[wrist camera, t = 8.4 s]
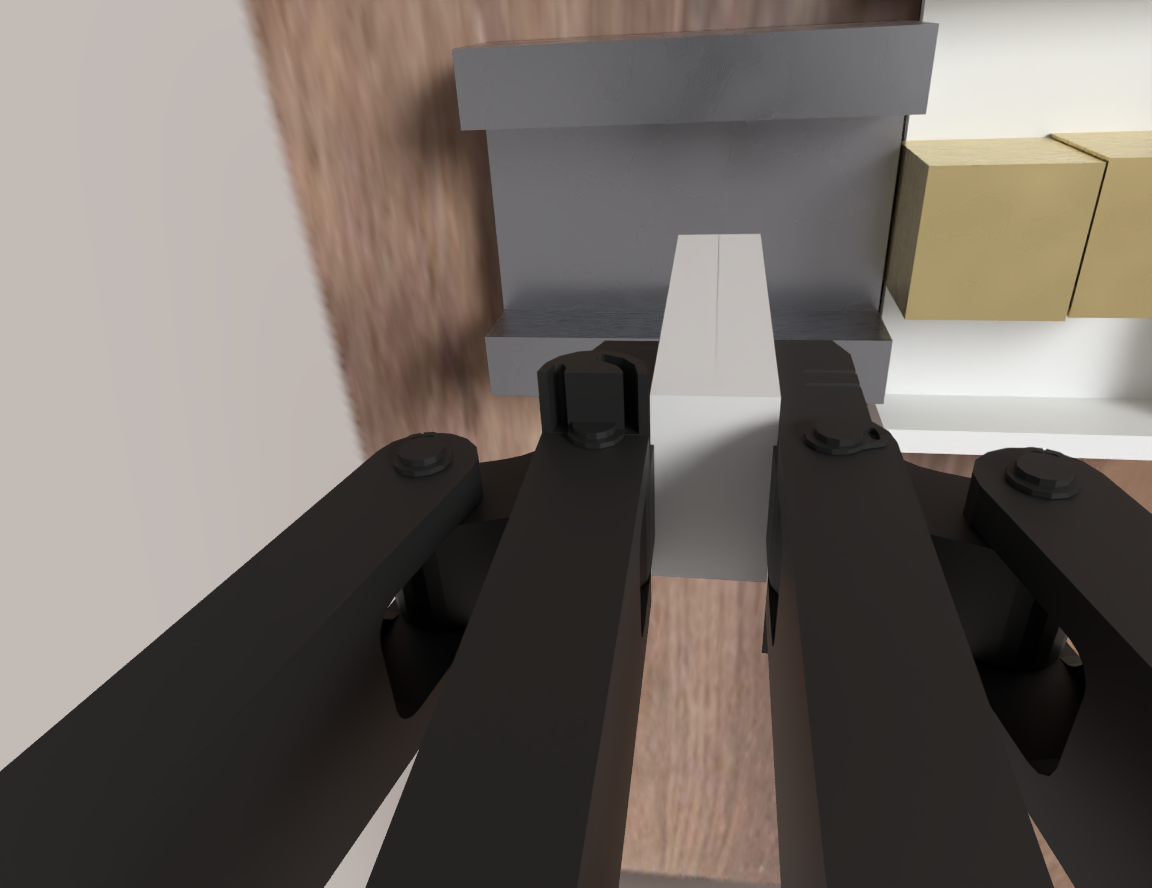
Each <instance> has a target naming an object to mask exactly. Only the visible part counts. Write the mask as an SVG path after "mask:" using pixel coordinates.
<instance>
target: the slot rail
mask: <svg viewBox="0 0 1152 888" xmlns="http://www.w3.org/2000/svg"><path fill="white" fill-rule="evenodd" d="M938 28H939V23H931V22H923V21H915V20H893V21H874V22H856V23H837V24H818V25H800V26H781V27H763V28H744V29H725V30H707V31H688V32H670V33H651V34H632V35H614V36H595V37H576V38H558V39H539V40H521V41H502V42H487V43H481V44H476V45H471V46H466V47H461V48H455V49H452V55H453V64H454V73H455V81H456V90H457V99H458V108H459V116H460V125H461V131H465V130H486V135H487V145H488V155H489V165H490V175H491V185H492V195H493V205H494V215H495V225H496V235H497V245H498V255H499V265H500V275H501V285H502V295H503V304H504V311H503V312H502V313H501V315H500V316H499V318H498V319H497V320H496V322H495V323H494V325H493V326H492V328H491V329H490V330H489V332H488V333H487V335H486V336H485V343H486V352H487V361H488V369H489V378H490V387H491V396H536V397H539V391H538V380H537V371H538V370H539V369H540V368H541V367H542V366H543V365H544V364H545V363H546V362H548V361H550V360H552V359H554V358H556V357H558V356H561V355H565V354H570V353H574V352H578V351H591V350H593V349H594V348H596V347H597V346H598V345H600V344H601V343H602V342H604V341H605V340H611V341H660V336H661V330H662V324H663V319H664V313H665V308H666V302H667V296H668V291H669V285H670V280H671V274H672V268H673V263H674V257H675V252H676V246H677V240H678V235H710V234H761V242H762V250H763V258H764V266H765V274H766V282H767V290H768V298H769V306H770V314H771V322H772V330H773V338H774V340H832V341H834V342H835V343H836V344H838V345H839V346H840V347H842V348H843V349H844V350H846V351H847V352H848V353H849V354H851V357H852V360H853V363H854V367H855V370H856V374H857V376H858V379H859V382H860V387H861V389H862V392H863V395H864V398H865V401H866V404H884V397H885V390H886V383H887V377H888V370H889V363H890V356H891V349H892V342H893V340H892V338H891V336H890V334H889V332H888V330H887V328H886V326H885V324H884V322H883V320H882V318H881V316H880V314H879V312H878V309H879V301H880V294H881V287H882V279H883V272H884V264H885V257H886V249H887V242H888V235H889V227H890V220H891V212H892V205H893V197H894V190H895V183H896V175H897V168H898V160H899V153H900V145H901V138H902V131H903V123H904V116H905V115H923V114H926V110H927V103H928V97H929V90H930V83H931V76H932V69H933V63H934V56H935V49H936V42H937V35H938Z"/></svg>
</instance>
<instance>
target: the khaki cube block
mask: <svg viewBox="0 0 1152 888" xmlns="http://www.w3.org/2000/svg"><path fill="white" fill-rule="evenodd" d="M1050 138H1051V139H1053V140H1056V141H1058V142H1060V143H1062V144H1065V145H1067V146H1069V147H1072V148H1074V149H1076V150H1079V151H1081V152H1083V153H1085V154H1088V155H1090V156H1092V157H1095V158H1097V159H1099V160H1102V161H1104V162H1106V165H1105V169H1104V173H1103V177H1102V181H1101V184H1100V188H1099V192H1098V196H1097V200H1096V204H1095V207H1094V211H1093V215H1092V219H1091V223H1090V227H1089V231H1088V234H1087V238H1086V242H1085V246H1084V250H1083V254H1082V257H1081V261H1080V265H1079V269H1078V273H1077V277H1076V281H1075V284H1074V288H1073V292H1072V296H1071V300H1070V304H1069V307H1068V311H1067V315H1066V316H1067V317H1068V318H1152V131H1118V132H1082V133H1051V135H1050Z"/></svg>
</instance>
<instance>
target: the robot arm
mask: <svg viewBox="0 0 1152 888" xmlns="http://www.w3.org/2000/svg"><path fill="white" fill-rule="evenodd" d="M537 380H538V391H539V402H540V413H541V424H542V434H541V437H540V440H539V442H538V445H537V447H536V450H535V451H534V452H531V453H528V454H525V455H523V456H518V457H513V458H509V459H503V460H496V461H489V462H483V463H479V460H478V453H477V447H476V446H475V445H474V444H472V443H471V442H470V441H469V440H468V439H466V438H463V437H460V436H457V435H454V434H447V433H436V432H426V433H424V434H421V433H418V434H413V435H410V436H408V437H406V438H403V439H400V440H397V441H394V442H392V443H390V444H389V445H387V446H385V447H384V448H382V449H380V450H379V451H377V452H376V453H375V454H374V455H373V456H371V457H370V458H369V459H368V460H367V461H365V462H364V463H363V464H362V465H361V466H360V467H358V468H357V469H356V470H355V471H354V472H352V473H351V474H350V475H349V476H348V477H347V478H345V479H344V480H343V481H342V482H341V483H340V484H338V485H337V486H336V487H335V488H334V489H333V490H331V491H330V492H329V493H328V494H327V495H325V497H323V498H322V499H321V500H319V501H318V502H317V503H316V504H315V505H314V506H313V507H311V508H310V509H309V510H308V511H307V512H305V513H304V514H303V515H302V516H301V517H300V518H298V519H297V520H296V521H295V522H294V523H293V524H291V525H290V526H289V527H288V528H287V529H285V530H284V531H283V532H282V533H281V534H279V535H278V536H277V537H276V538H275V539H274V540H272V541H271V542H270V543H269V544H268V545H266V546H265V547H264V548H263V549H262V550H261V551H259V552H258V553H257V554H256V555H255V556H254V557H252V558H251V559H250V560H249V561H248V562H246V563H245V564H244V565H243V566H242V567H241V568H239V569H238V570H237V571H236V572H235V573H233V574H232V575H231V576H230V577H229V578H228V579H227V580H225V581H224V582H223V583H222V584H221V585H219V586H218V587H217V588H216V589H215V590H214V591H212V592H211V593H210V594H209V595H208V596H206V597H205V598H204V599H203V600H202V601H201V602H200V603H198V604H197V605H196V606H195V607H193V608H192V609H191V610H190V611H189V612H188V613H186V614H185V615H184V616H183V617H182V618H181V619H179V620H178V621H177V622H176V623H175V624H173V625H172V626H171V627H170V628H169V629H168V630H166V631H165V632H164V633H163V634H162V635H160V636H159V637H158V638H157V639H156V640H155V641H153V642H152V643H151V644H150V645H149V646H148V647H146V648H145V649H144V650H143V651H142V652H141V653H139V654H138V655H137V656H136V657H135V658H133V659H132V660H131V661H130V662H129V663H127V665H125V666H124V667H123V668H122V669H120V670H119V671H118V672H117V673H116V674H115V675H113V676H112V677H111V678H110V679H109V680H107V681H106V682H105V683H104V684H103V685H102V686H100V687H99V688H98V689H97V690H96V691H94V692H93V693H92V694H91V695H90V696H89V697H87V698H86V699H85V700H84V701H83V702H82V703H80V704H79V705H78V706H77V707H76V708H75V709H73V710H72V711H71V712H70V713H69V714H67V715H66V716H65V717H64V718H63V719H62V720H60V721H59V722H58V723H57V724H56V725H54V726H53V727H52V728H51V729H50V730H49V731H47V732H46V733H45V734H44V735H43V736H41V737H40V738H39V739H38V740H37V741H36V742H34V743H33V744H32V745H31V746H30V747H29V748H27V749H26V750H25V751H24V752H23V753H21V754H20V755H19V756H18V757H17V758H16V759H14V760H13V761H12V762H11V763H10V764H8V765H7V766H6V767H5V768H4V769H3V770H1V771H0V888H324V886H325V885H326V883H327V882H328V881H329V879H330V878H331V876H332V875H333V873H334V872H335V870H336V869H337V867H338V866H339V865H340V863H341V862H342V860H343V859H344V857H345V856H346V854H347V853H348V851H349V850H350V849H351V847H352V846H353V844H354V843H355V841H356V840H357V838H358V837H359V836H360V834H361V833H362V831H363V830H364V828H365V827H366V825H367V824H368V822H369V821H370V820H371V818H372V817H373V815H374V814H375V812H376V811H377V809H378V808H379V807H380V805H381V804H382V802H383V801H384V799H385V798H386V796H387V795H388V793H389V792H390V791H391V789H392V788H393V786H394V785H395V783H396V782H397V780H398V779H399V777H400V776H401V775H402V773H403V772H404V770H405V769H406V767H407V766H408V764H409V763H410V761H411V760H412V759H413V757H414V756H415V754H416V753H417V751H418V750H419V751H418V754H417V756H416V759H415V762H414V764H413V767H412V769H411V772H410V775H409V777H408V780H407V782H406V785H405V788H404V790H403V792H402V795H401V798H400V800H399V803H398V805H397V808H396V810H395V813H394V816H393V818H392V821H391V824H390V826H389V828H388V831H387V834H386V836H385V839H384V841H383V844H382V846H381V849H380V852H379V854H378V857H377V859H376V862H375V865H374V867H373V870H372V872H371V875H370V877H369V880H368V882H367V885H366V888H619V879H620V870H621V862H622V853H623V844H624V835H625V827H626V818H627V809H628V800H629V792H630V783H631V774H632V765H633V757H634V748H635V739H636V730H637V722H638V713H639V704H640V695H641V687H642V678H643V669H644V660H645V652H646V643H647V634H648V625H649V617H650V608H651V566H652V575H653V576H670V577H687V578H704V579H720V580H737V581H754V582H766V577H767V565H768V584H767V596H766V609H765V621H764V633H763V645H762V653H768V661H769V679H770V697H771V715H772V733H773V750H774V768H775V786H776V804H777V822H778V840H779V857H780V875H781V888H1054V886H1053V884H1052V881H1051V878H1050V875H1049V872H1048V869H1047V867H1046V864H1045V861H1044V858H1043V855H1042V852H1041V849H1040V847H1039V844H1038V841H1037V838H1036V835H1035V832H1034V830H1033V827H1032V824H1031V821H1030V818H1029V815H1030V816H1031V818H1032V820H1033V821H1034V823H1035V824H1036V826H1037V827H1038V829H1039V831H1040V832H1041V834H1042V835H1043V837H1044V839H1045V840H1046V842H1047V843H1048V845H1049V847H1050V848H1051V850H1052V851H1053V853H1054V855H1055V856H1056V858H1057V859H1058V861H1059V863H1060V864H1061V866H1062V867H1063V869H1064V871H1065V872H1066V874H1067V875H1068V877H1069V878H1070V880H1071V882H1072V883H1073V885H1074V886H1075V888H1152V514H1151V513H1150V512H1149V511H1147V510H1146V509H1145V508H1144V507H1143V506H1141V505H1140V504H1139V503H1138V502H1137V501H1135V500H1134V499H1133V498H1132V497H1130V496H1129V495H1128V494H1127V493H1126V492H1124V491H1123V490H1122V489H1121V488H1120V487H1118V486H1117V485H1116V484H1115V483H1114V482H1112V481H1111V480H1110V479H1109V478H1108V477H1106V476H1105V475H1104V474H1103V473H1101V472H1099V471H1098V470H1096V469H1094V468H1093V467H1091V466H1090V465H1088V464H1086V463H1085V462H1083V461H1080V460H1077V459H1075V458H1072V457H1069V456H1066V455H1064V454H1062V453H1061V452H1058V451H1054V450H1049V449H1046V450H1043V448H1036V447H1026V448H1003V449H999V450H994V451H989V452H987V453H985V454H984V455H982V456H981V457H980V458H978V459H977V460H975V464H974V468H973V472H972V477H971V478H968V477H963V476H958V475H953V474H948V473H943V472H938V471H934V470H931V469H927V468H923V467H919V466H917V465H914V464H912V463H909V462H907V461H905V460H903V457H902V454H901V451H900V448H899V445H898V442H897V441H896V440H895V438H894V437H893V436H892V434H891V433H890V432H889V431H888V430H886V429H884V428H883V427H881V426H879V425H878V424H876V423H874V422H872V420H871V417H870V414H869V411H868V408H867V404H866V401H865V398H864V395H863V392H862V389H861V387H860V382H859V379H858V376H857V374H856V370H855V367H854V363H853V360H852V357H851V354H849V353H848V352H847V351H846V350H844V349H843V348H842V347H840V346H839V345H838V344H836V343H835V342H834V341H832V340H774V338H773V330H772V322H771V314H770V306H769V298H768V290H767V282H766V274H765V266H764V258H763V250H762V242H761V234H710V235H678V240H677V246H676V252H675V257H674V263H673V268H672V274H671V280H670V285H669V291H668V296H667V302H666V308H665V313H664V319H663V324H662V330H661V336H660V341H611V340H605V341H604V342H602V343H601V344H600V345H598V346H597V347H596V348H594V349H593V350H591V351H578V352H574V353H570V354H565V355H561V356H558V357H556V358H554V359H552V360H550V361H548V362H546V363H545V364H544V365H543V366H542V367H541V368H540V369H539V370H538V371H537ZM394 597H395V598H396V599H395V600H394V601H393V603H392V604H391V605H390V603H391V601H392V600H393V598H394ZM389 605H390V606H389ZM388 606H389V607H388ZM1067 637H1068V638H1069V639H1070V640H1071V642H1072V643H1073V645H1074V646H1075V648H1076V650H1077V651H1078V653H1079V656H1080V657H1079V656H1078V655H1077V654H1076V653H1075V651H1074V650H1073V649H1072V648H1071V647H1070V646H1069V644H1068V643H1067V642H1066V640H1067ZM419 748H420V749H419ZM1028 813H1029V815H1028Z"/></svg>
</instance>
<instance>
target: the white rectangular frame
mask: <svg viewBox="0 0 1152 888" xmlns="http://www.w3.org/2000/svg"><path fill="white" fill-rule="evenodd" d="M920 21H923V22H931V23H939V28H938V35H937V42H936V49H935V56H934V63H933V69H932V76H931V83H930V90H929V97H928V103H927V110H926V114H923V115H907V117H906V124H905V131H904V139H903V141H912V140H953V139H994V138H1035V137H1049V138H1050V135H1051V133H1082V132H1118V131H1152V0H922V6H921V14H920ZM880 316H881V318H882V320H883V322H884V324H885V326H886V328H887V330H888V332H889V334H890V336H891V338H892V340H893V342H892V349H891V356H890V363H889V370H888V377H887V383H886V390H885V397H884V404H867V408H868V411H869V414H870V417H871V420H872V422H874V423H876V424H878V425H879V426H881V427H883V428H884V429H886V430H888V431H889V432H890V433H891V434H892V436H893V437H894V438H895V440H896V441H897V442H898V445H899V448H900V451H901V452H906V453H938V454H970V455H984V454H985V453H987V452H989V451H994V450H999V449H1003V448H1026V447H1036V448H1043V450H1046V449H1049V450H1054V451H1058V452H1061V453H1062V454H1064V455H1066V456H1069V457H1072V458H1096V459H1128V460H1152V318H1068V317H1067V316H1066V319H1065V321H985V320H905V319H904V317H903V316H902V314H901V312H900V310H899V308H898V307H897V305H896V303H895V301H894V299H893V298H892V296H891V294H890V292H889V290H888V289H887V287H886V285H885V283H884V286H883V293H882V301H881V308H880Z"/></svg>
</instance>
